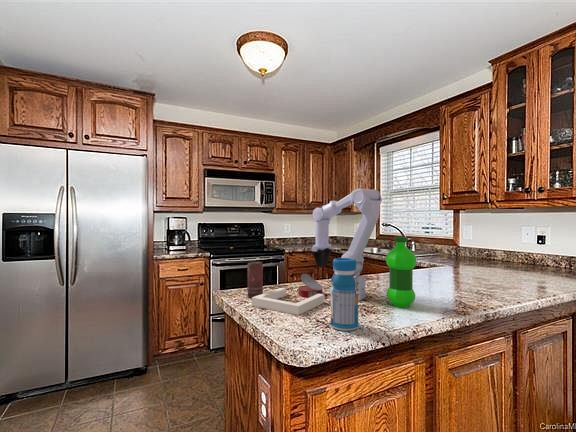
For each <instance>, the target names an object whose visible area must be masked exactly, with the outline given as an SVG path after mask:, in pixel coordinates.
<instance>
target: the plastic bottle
mask: <svg viewBox="0 0 576 432" xmlns="http://www.w3.org/2000/svg"><path fill="white" fill-rule="evenodd" d="M394 242H395V243H396V244H395V246H394V247H393V248H392V249H391V250H390V251H388V252H387V254H386V256H385V263H386V265H387V266H388V267H389V270H388V271H389V272H388V273H389V276H388V277H389V280H388V281H389V287H388V289H387V291H386V298H387V299H388V301H389V302H390V303H391V304H392V305H393V306H394V307H396V308H403V309H404V308H408V307H409V306H410V305H412V304H413V303H414V302H415V300H416V293H415V290H414V289H413V286H414V284H413V279H414V278H413V277H414V276H413V270H414V268H415V267H416V266H417V257H416V254H414V252H412V250H410V249H409V248H408V247H407V245H406V244H407V243H408V236H394Z"/></svg>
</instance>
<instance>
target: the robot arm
mask: <svg viewBox="0 0 576 432" xmlns="http://www.w3.org/2000/svg"><path fill="white" fill-rule="evenodd" d="M382 202H383V198H382V195H381V192H380V191H379V190H377V189H367V188H361V187H359V188H356V189H355V190H352V191H351V193H349V194H348V195H346V196H345V197H343V198H341V199H340V200H338V201H337V200H330V201H329V203H327V204H324V205H322V207H316V208H314V209H313V211H312V219H313V220H314V221H315V244H313V245H312V246H311V254H312V255H313V257H314V262H315V264H316V265H315V266H316V268H323V266H324V267H327V266H328V263H329V259H330V256H331V254H332V252H333V249H332V244H331V243H329V241H330V240H329V238H330V237H329V236H330V235H329V230H330V229H329V227H330V226H329V225H330V221H331V219H332V218H333V217H335V216H337V215H338V214H341V213H342V210H343V209H345V208H347V207H349V206H351V205H355V206H356V207H357V209H358V210H359V211H360V213H361V215H362V217H361V219H360V222H359V224H358V227H357V228H356V229H357V230H356V231H355V233H354V235H353V236H354V237H353V238H352V241H351V243H350V245H349V249H348V250H347V251H346V252H345V253H343V254H342V255H341V257H340V258H351V259H355V260H356V271H354V273H355V275H356V277H357V279H358V282H359V284H358V289H359V296H358V302H360V301H362V300H364V299H365V298H366V297H367V295H366V279H365V277H363V276H360V273H361V272H362V270H363V267H364V266H363V265H364V261H365V259H364V257H363V253H364V251H365V249H366V247H367V245H368V243H369V240H370V238H371V236H372V234H373V231H374V229H375V227H376V225H377V222H378V220H379V218H380V211H381V210H380V208H381V205H382Z"/></svg>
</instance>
